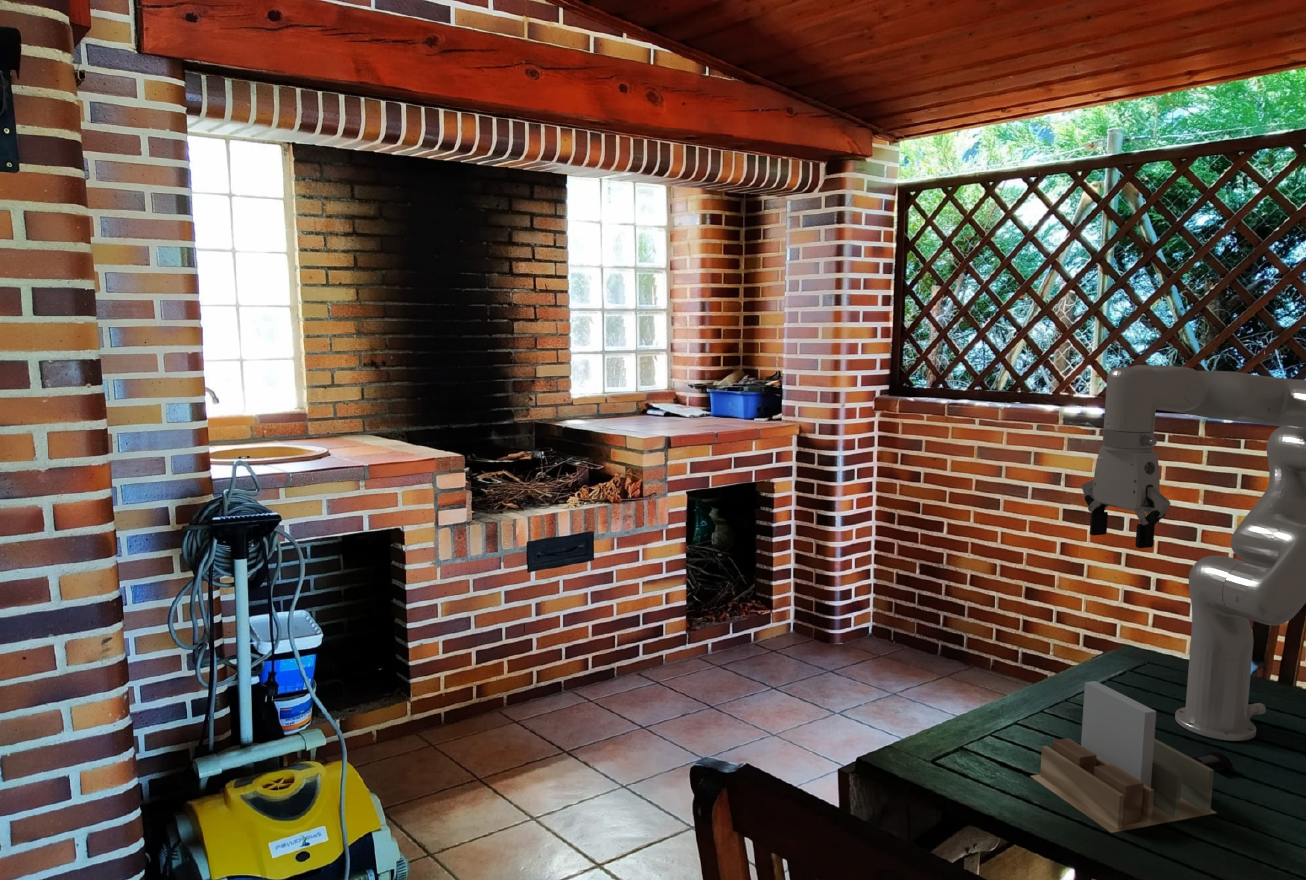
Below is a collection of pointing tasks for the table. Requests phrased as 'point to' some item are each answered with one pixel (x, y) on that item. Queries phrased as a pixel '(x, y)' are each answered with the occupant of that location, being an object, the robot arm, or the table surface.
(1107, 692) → the sheet
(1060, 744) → the offcut
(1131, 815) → the offcut
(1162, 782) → the rack
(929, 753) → the table surface
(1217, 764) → the electric trimmer
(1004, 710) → the table surface
